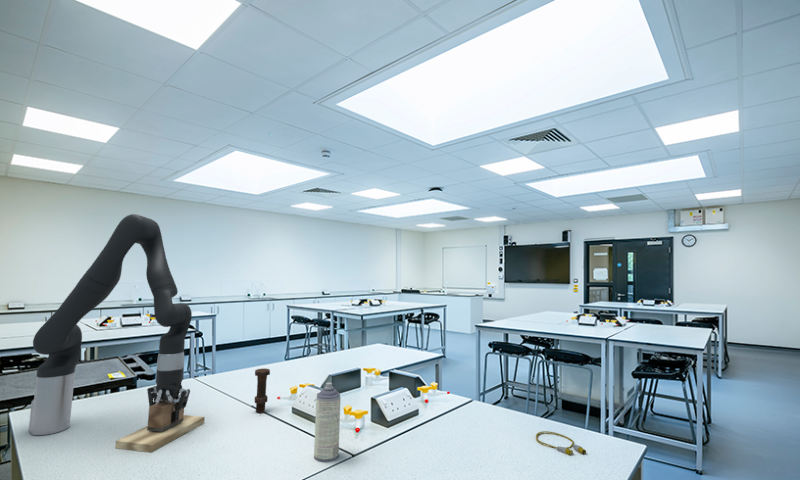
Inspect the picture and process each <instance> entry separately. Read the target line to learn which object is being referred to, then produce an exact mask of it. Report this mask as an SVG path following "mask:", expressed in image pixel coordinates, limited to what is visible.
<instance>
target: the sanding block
mask: <svg viewBox="0 0 800 480" xmlns="http://www.w3.org/2000/svg"><path fill="white" fill-rule="evenodd" d="M175 399H176V398H175ZM175 399H173V400H175ZM175 405H176V403H175ZM148 406H149V405H148ZM171 413H172V404H171V405H170V404H169V401H168V400H166V401H163V402H161V403H157V404H154V405H152V406H149V407H148V413H147V414H148V417H147V426H148V427H147V426H146V427H147V430H150V431H159V432H162V431H164V430H166V429H168V428H170V427H172V426H174V425H176V424H178V423H180V422H182V421H183V417H184V415H185V408H182V409H180V410H179V420H178V421H177V422H176V423H174V424H171Z"/></svg>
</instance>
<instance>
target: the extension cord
mask: <svg viewBox="0 0 800 480" xmlns="http://www.w3.org/2000/svg"><path fill="white" fill-rule="evenodd" d="M540 435H555V436H559V437H562V438H564V439H567V440H568V441H570V442H571V445H570V446H567V447H564V446H559V445H558V446H554V445H551V444H549V443H545V442H543V441H541V440H540V439H538V437H539V436H540ZM535 438H536V439H535V440H536V442H537V444H540V445H541V446H543V447H547V448H551V449H556V450H557V451H559V452H560V453H563V454H564V455H565V454H566V455H568V456H572V455H573V454H574V451H573V450H572V449H570V448H573V449H574V450H575V451H576V452H578V454H579V453H580V454H581V455H586V454H587V451H586V449H585V448H583V447H582V446H580V445H578V444H575V442H574V440H573V439H572V438H570V437H569V436H566V435H564V434H561V433H558V432H553V431H547V430H546V431H545V430H544V431H543V430H542V431H539V432H537V433H536V435H535Z"/></svg>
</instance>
